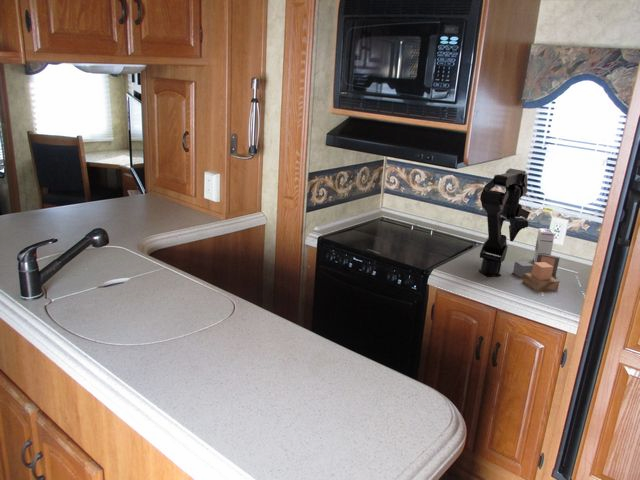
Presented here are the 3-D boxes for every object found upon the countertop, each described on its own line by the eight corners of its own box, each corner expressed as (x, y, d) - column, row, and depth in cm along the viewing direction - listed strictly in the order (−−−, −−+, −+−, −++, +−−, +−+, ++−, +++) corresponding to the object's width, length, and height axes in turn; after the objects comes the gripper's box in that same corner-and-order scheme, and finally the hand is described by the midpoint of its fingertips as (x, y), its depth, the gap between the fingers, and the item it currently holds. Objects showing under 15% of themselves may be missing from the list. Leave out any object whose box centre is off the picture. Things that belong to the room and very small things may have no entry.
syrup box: (549, 266, 231) (556, 233, 227) (534, 264, 232) (540, 231, 228) (546, 261, 237) (553, 229, 232) (532, 259, 238) (538, 227, 233)
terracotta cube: (539, 279, 206) (542, 267, 204) (531, 274, 211) (533, 262, 209) (550, 279, 207) (553, 266, 206) (542, 274, 212) (544, 262, 210)
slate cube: (520, 277, 217) (522, 266, 215) (512, 272, 221) (515, 261, 220) (531, 277, 218) (533, 265, 217) (523, 272, 223) (525, 260, 221)
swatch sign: (533, 274, 221) (537, 255, 219) (534, 270, 225) (538, 252, 223) (555, 278, 218) (559, 259, 216) (555, 274, 223) (559, 255, 220)
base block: (536, 292, 205) (539, 282, 203) (522, 282, 213) (524, 273, 212) (557, 291, 207) (559, 281, 206) (542, 281, 215) (544, 272, 214)
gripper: (543, 206, 214) (536, 244, 219) (515, 194, 231) (508, 229, 236) (519, 207, 211) (511, 245, 216) (491, 194, 228) (485, 230, 233)
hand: (504, 237), depth 225 cm, fingers open, 9 cm apart
